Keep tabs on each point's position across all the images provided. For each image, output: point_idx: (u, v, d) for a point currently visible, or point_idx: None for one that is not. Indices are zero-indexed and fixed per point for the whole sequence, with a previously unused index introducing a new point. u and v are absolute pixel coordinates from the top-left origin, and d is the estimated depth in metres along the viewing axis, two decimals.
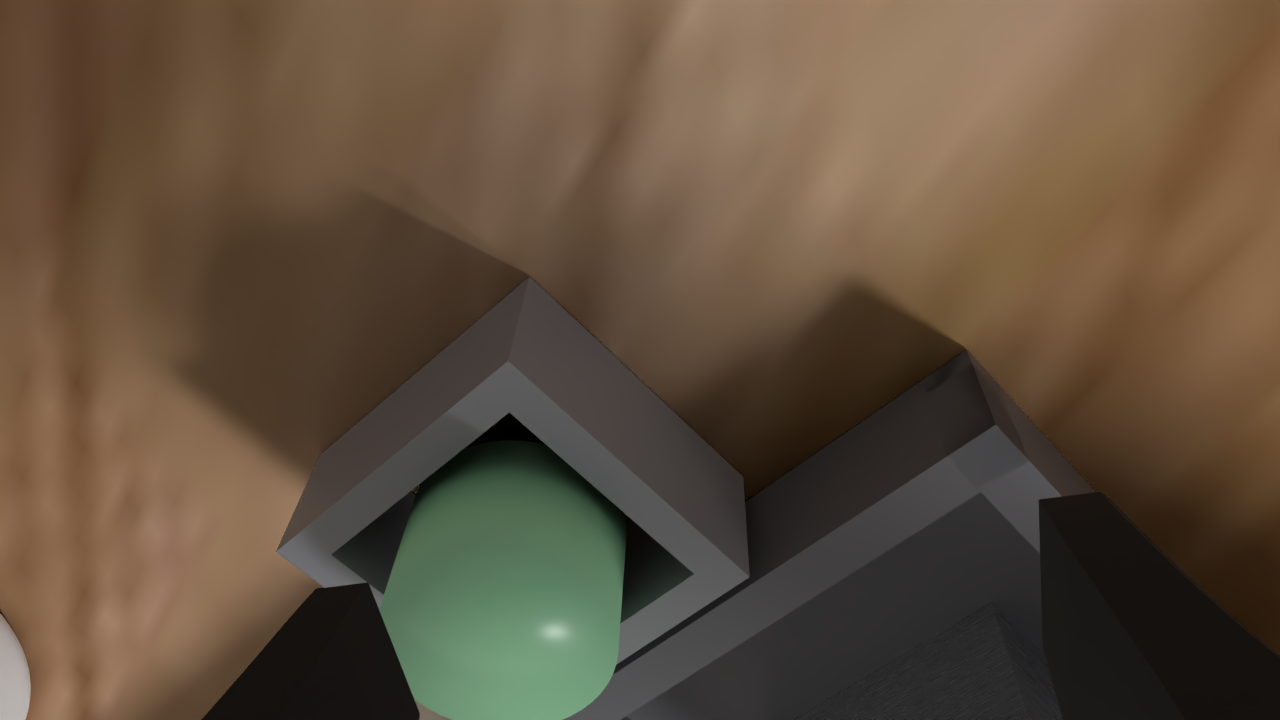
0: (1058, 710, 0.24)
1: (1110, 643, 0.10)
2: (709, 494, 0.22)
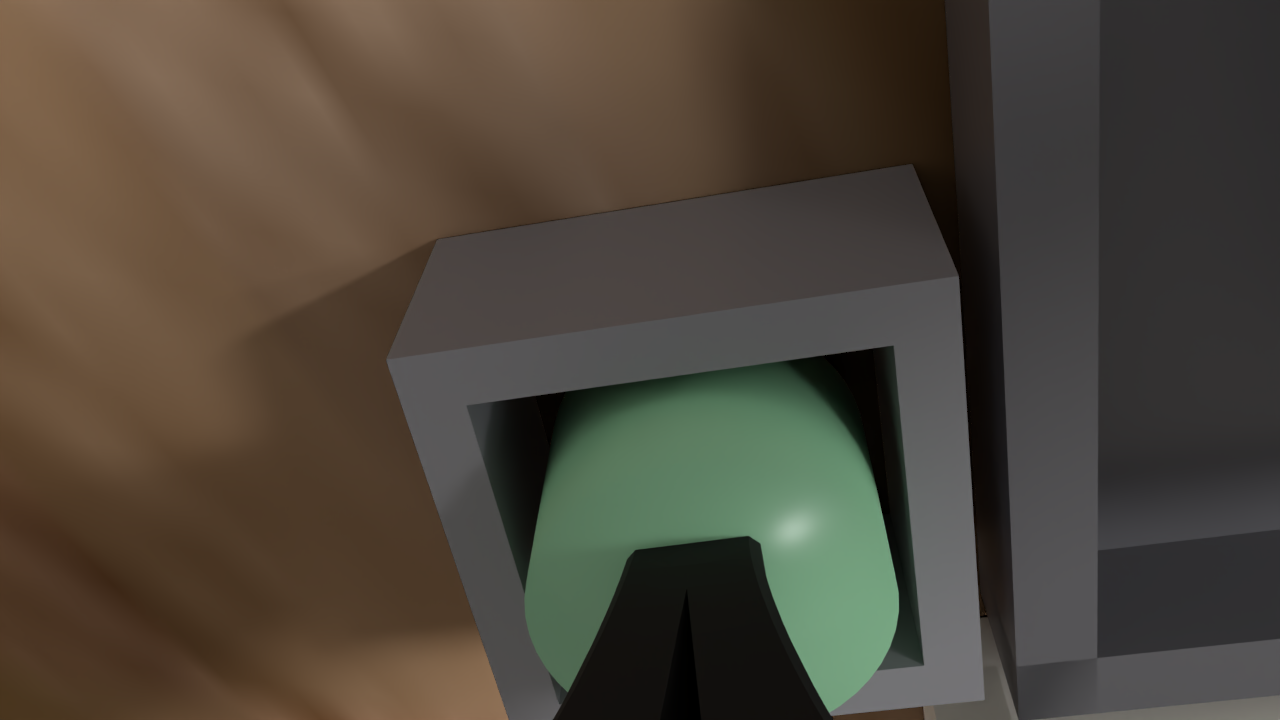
0: None
1: None
2: (838, 234, 0.13)
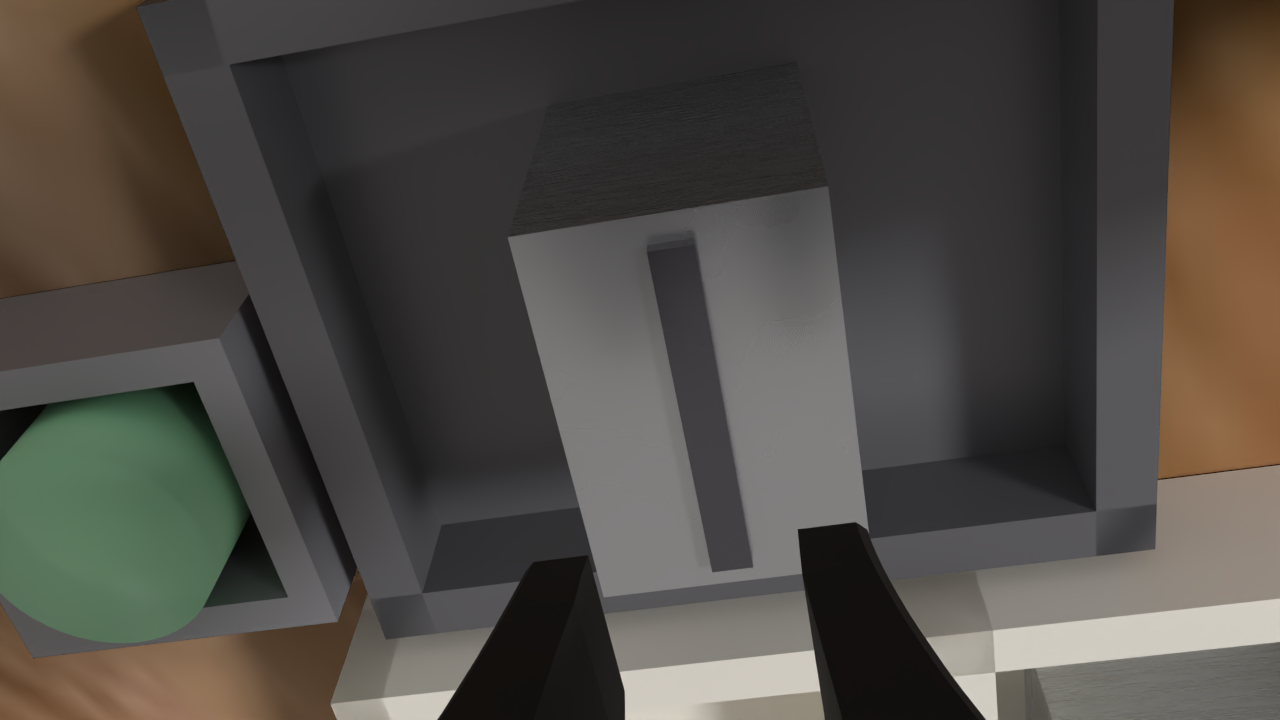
0: (644, 126, 0.18)
1: (825, 674, 0.11)
2: (186, 306, 0.20)
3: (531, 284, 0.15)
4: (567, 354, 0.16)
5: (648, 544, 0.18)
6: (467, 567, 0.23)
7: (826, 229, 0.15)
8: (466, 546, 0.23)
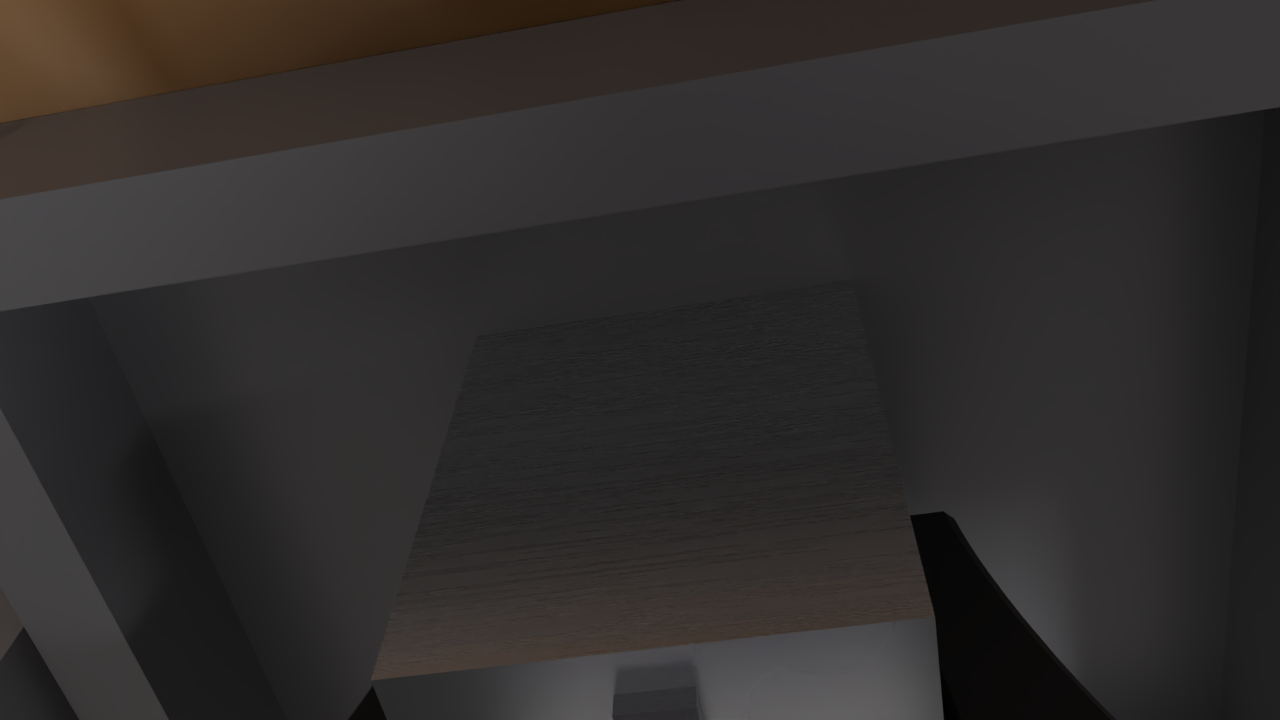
0: (617, 405, 0.11)
1: None
2: None
3: None
4: None
5: None
6: None
7: (928, 678, 0.08)
8: None
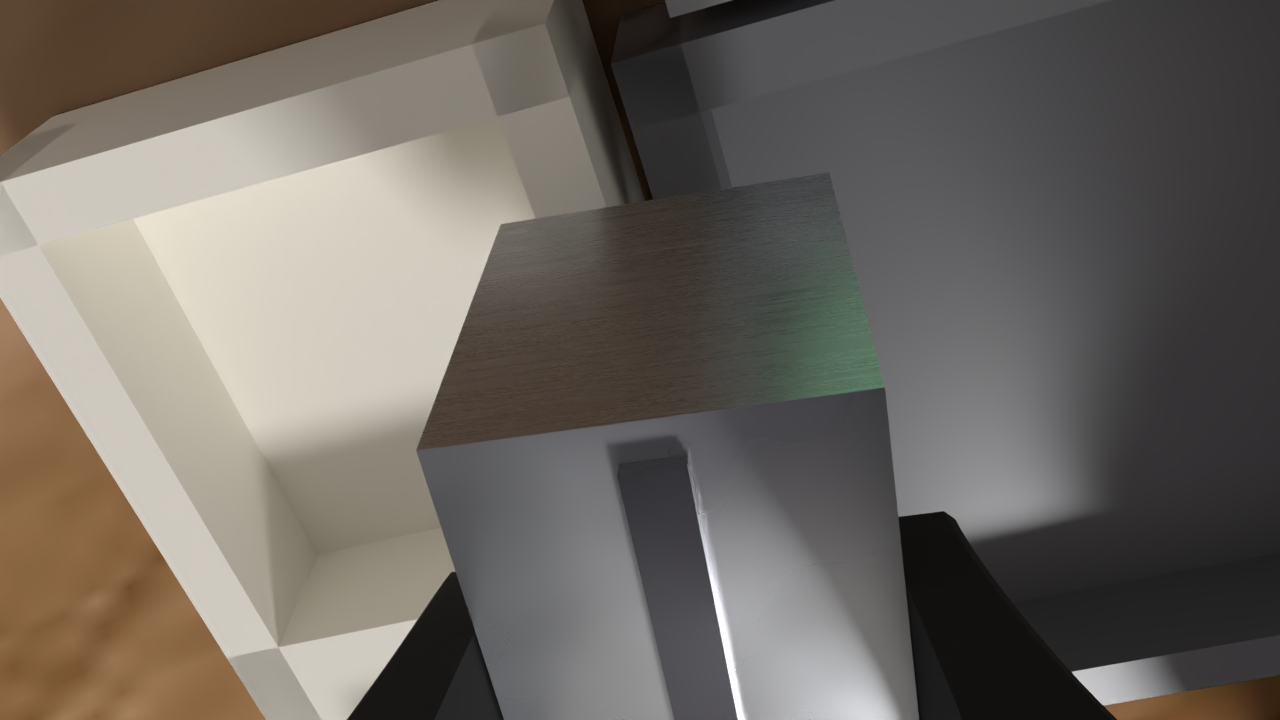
0: (624, 265, 0.13)
1: (928, 663, 0.10)
2: None
3: (451, 513, 0.11)
4: (506, 605, 0.11)
5: None
6: (713, 147, 0.18)
7: (881, 446, 0.10)
8: (711, 124, 0.18)
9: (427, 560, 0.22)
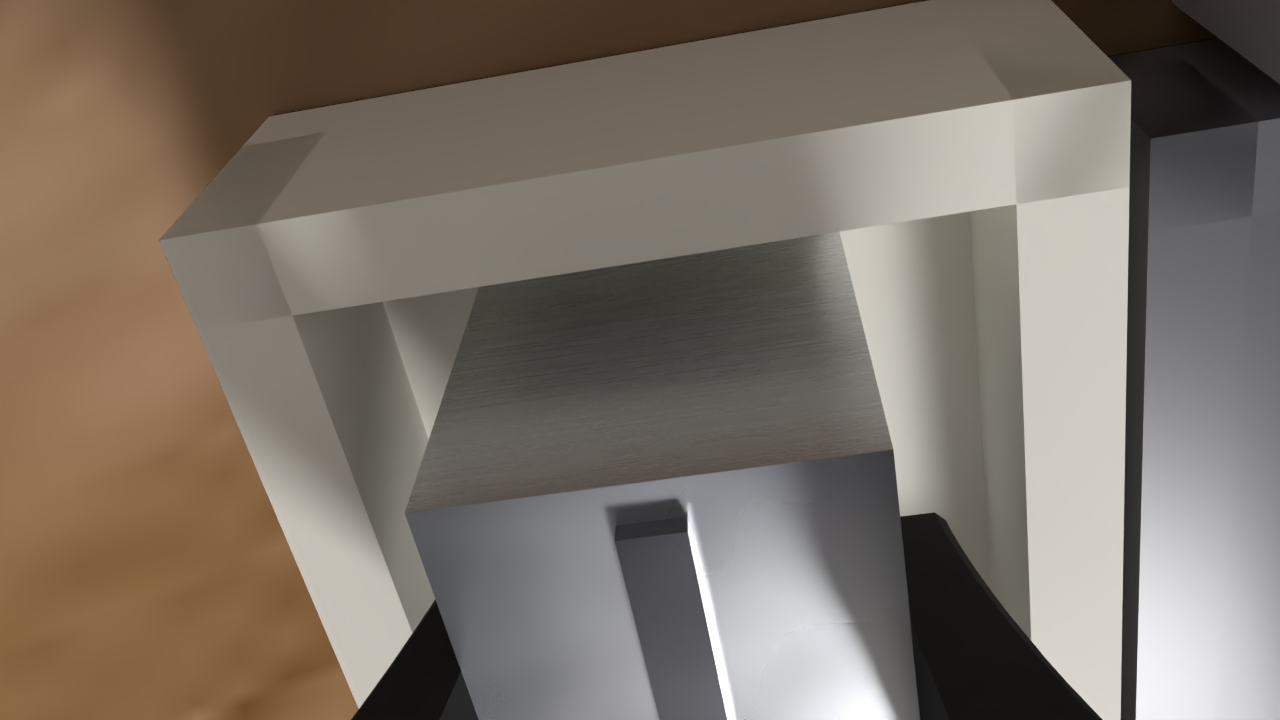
0: (619, 301, 0.13)
1: (917, 664, 0.10)
2: None
3: (441, 575, 0.10)
4: (500, 665, 0.11)
5: None
6: None
7: (888, 508, 0.10)
8: None
9: None
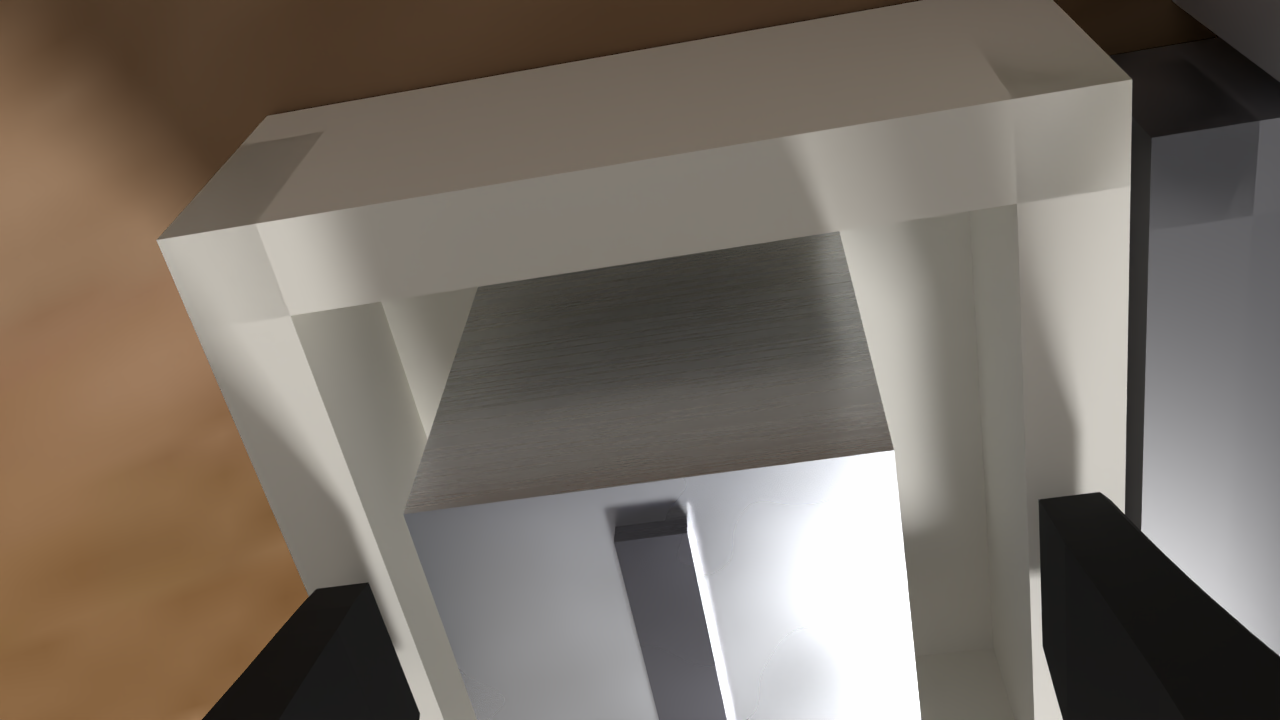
0: (618, 300, 0.12)
1: (1110, 643, 0.10)
2: None
3: (442, 575, 0.10)
4: (499, 666, 0.11)
5: None
6: None
7: (889, 508, 0.10)
8: None
9: None
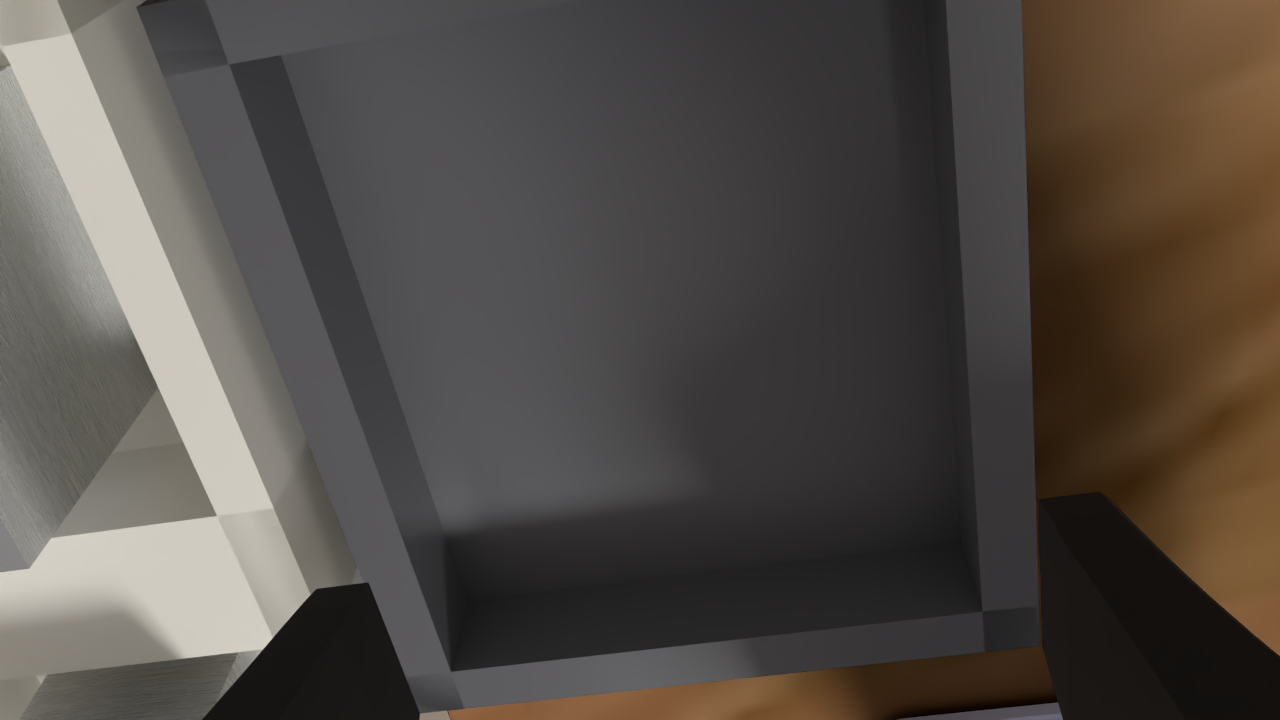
0: None
1: (1110, 643, 0.10)
2: None
3: None
4: None
5: None
6: (259, 102, 0.18)
7: None
8: (269, 81, 0.19)
9: None
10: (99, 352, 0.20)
